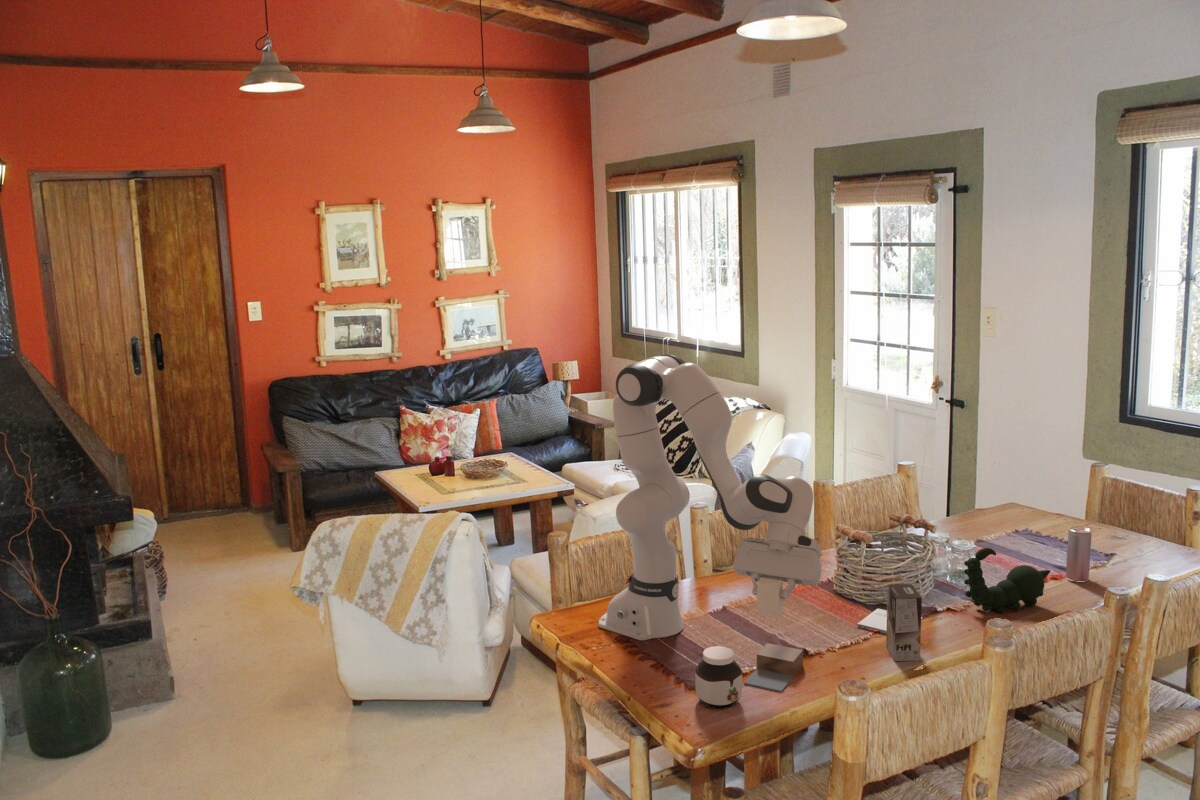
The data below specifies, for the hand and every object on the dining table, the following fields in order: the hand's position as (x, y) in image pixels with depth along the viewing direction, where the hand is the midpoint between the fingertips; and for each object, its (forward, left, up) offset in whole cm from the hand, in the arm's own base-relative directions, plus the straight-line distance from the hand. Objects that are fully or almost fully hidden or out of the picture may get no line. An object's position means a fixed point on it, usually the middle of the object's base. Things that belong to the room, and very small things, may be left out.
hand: (769, 596), depth 232 cm
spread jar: (-8, -12, -21) cm, 26 cm away
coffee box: (+24, +28, -21) cm, 43 cm away
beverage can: (+57, +97, -21) cm, 115 cm away
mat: (0, 0, -21) cm, 21 cm away
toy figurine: (+42, +68, -21) cm, 83 cm away
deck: (0, +8, -21) cm, 22 cm away
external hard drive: (+15, +44, -22) cm, 51 cm away
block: (0, +1, -5) cm, 5 cm away
